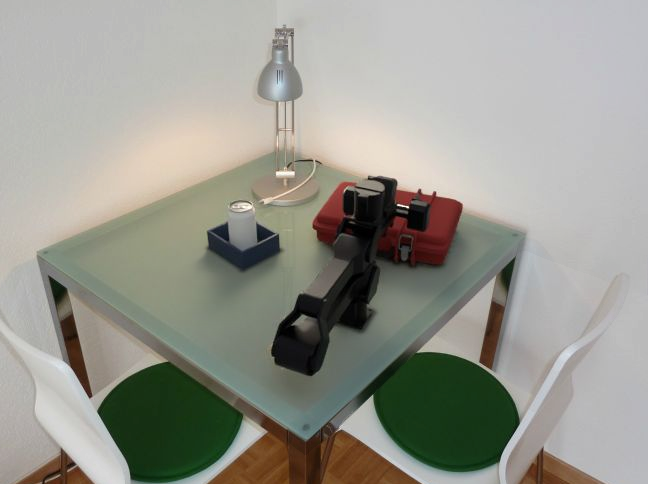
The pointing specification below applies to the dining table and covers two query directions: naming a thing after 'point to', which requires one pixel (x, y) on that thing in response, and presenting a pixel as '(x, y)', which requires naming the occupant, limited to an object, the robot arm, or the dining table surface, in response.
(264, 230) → the case
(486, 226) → the dining table surface
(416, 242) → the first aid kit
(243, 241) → the can
